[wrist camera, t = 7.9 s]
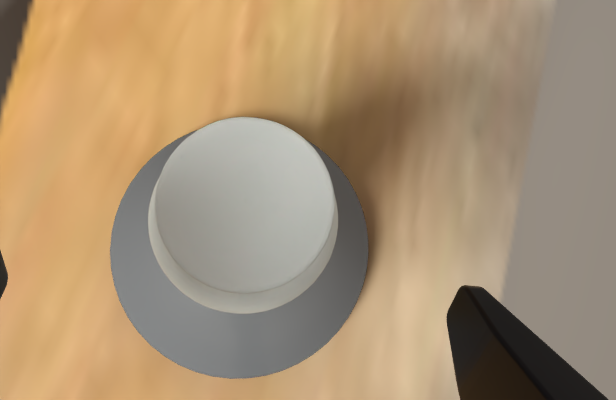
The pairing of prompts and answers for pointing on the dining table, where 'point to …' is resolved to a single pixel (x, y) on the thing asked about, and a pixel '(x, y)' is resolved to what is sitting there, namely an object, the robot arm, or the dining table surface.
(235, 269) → the supplement bottle
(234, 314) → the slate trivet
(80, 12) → the dining table surface
